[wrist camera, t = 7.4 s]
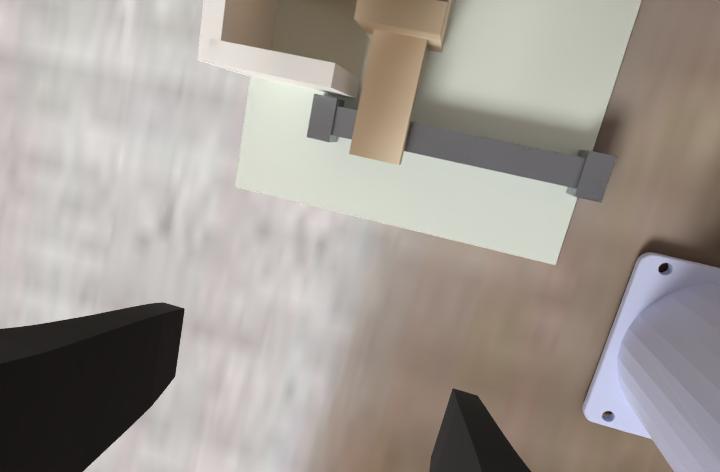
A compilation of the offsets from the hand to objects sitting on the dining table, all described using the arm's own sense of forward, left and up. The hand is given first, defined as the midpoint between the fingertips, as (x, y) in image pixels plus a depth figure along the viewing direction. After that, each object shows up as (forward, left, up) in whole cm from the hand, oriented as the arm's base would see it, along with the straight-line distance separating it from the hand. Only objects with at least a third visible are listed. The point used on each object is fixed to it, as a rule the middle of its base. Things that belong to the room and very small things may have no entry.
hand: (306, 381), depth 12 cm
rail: (-2, -6, -10) cm, 12 cm away
